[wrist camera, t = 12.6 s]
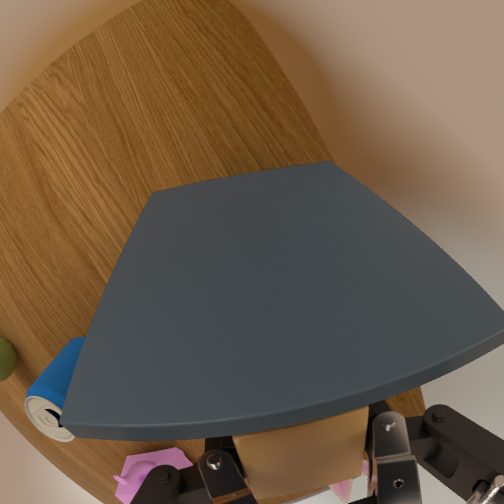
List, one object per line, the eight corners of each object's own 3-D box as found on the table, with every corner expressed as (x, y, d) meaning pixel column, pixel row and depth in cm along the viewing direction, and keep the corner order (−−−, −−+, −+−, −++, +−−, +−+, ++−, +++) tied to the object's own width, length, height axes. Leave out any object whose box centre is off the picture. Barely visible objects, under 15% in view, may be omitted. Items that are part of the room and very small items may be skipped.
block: (331, 343, 13) (369, 407, 8) (334, 413, 14) (361, 476, 9) (230, 364, 12) (231, 438, 8) (248, 431, 13) (255, 500, 9)
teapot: (236, 456, 35) (238, 517, 25) (205, 495, 37) (203, 545, 27) (131, 422, 33) (110, 482, 22) (117, 467, 35) (102, 516, 25)
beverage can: (125, 373, 31) (92, 443, 19) (87, 383, 31) (50, 446, 20) (97, 327, 30) (48, 388, 18) (60, 341, 30) (10, 396, 18)
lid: (505, 343, 6) (516, 323, 5) (75, 438, 5) (57, 422, 5) (331, 172, 19) (330, 160, 18) (155, 203, 19) (152, 192, 18)
